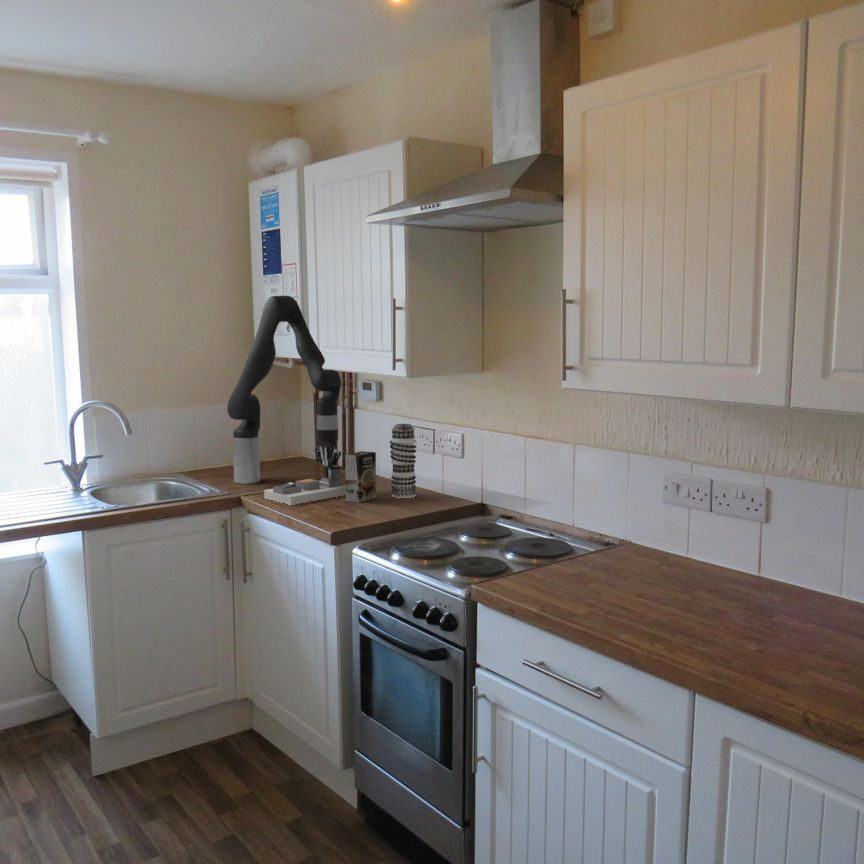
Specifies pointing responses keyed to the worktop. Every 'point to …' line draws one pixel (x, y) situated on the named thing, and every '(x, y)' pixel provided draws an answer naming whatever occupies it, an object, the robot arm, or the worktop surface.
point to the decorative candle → (403, 461)
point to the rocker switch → (287, 485)
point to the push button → (307, 481)
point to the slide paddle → (334, 475)
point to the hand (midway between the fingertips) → (328, 476)
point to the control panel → (305, 492)
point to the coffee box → (360, 476)
